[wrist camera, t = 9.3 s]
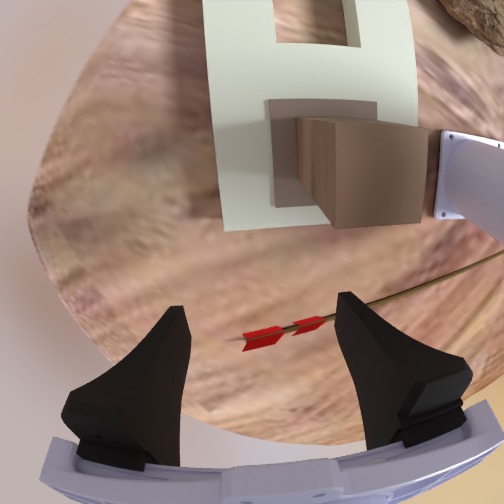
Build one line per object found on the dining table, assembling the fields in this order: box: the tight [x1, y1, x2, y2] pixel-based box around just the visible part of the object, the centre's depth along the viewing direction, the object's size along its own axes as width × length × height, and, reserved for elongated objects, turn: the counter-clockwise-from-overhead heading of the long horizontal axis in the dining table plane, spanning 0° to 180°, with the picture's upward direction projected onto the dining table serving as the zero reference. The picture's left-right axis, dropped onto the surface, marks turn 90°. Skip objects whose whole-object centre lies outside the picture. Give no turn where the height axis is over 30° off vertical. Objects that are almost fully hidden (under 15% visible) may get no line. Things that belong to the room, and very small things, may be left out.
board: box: [203, 0, 418, 232], centre depth 16 cm, size 14×20×3 cm
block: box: [295, 117, 428, 229], centre depth 13 cm, size 4×4×8 cm
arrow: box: [242, 250, 504, 352], centre depth 26 cm, size 2×35×2 cm
